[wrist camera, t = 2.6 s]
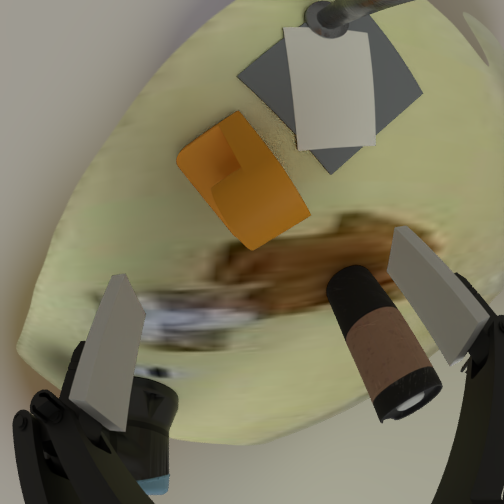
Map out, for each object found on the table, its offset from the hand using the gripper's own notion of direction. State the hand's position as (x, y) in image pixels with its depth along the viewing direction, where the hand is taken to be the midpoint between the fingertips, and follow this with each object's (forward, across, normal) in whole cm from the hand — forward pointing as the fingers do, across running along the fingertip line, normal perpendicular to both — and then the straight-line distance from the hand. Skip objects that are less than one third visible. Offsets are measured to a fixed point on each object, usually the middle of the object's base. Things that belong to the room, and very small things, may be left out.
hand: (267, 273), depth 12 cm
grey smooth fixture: (+17, -11, -16) cm, 26 cm away
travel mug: (+17, -13, +18) cm, 28 cm away
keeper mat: (+17, -11, -8) cm, 22 cm away
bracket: (+17, 0, 0) cm, 17 cm away
